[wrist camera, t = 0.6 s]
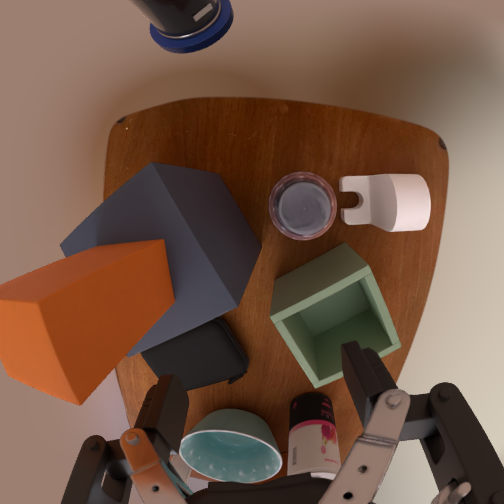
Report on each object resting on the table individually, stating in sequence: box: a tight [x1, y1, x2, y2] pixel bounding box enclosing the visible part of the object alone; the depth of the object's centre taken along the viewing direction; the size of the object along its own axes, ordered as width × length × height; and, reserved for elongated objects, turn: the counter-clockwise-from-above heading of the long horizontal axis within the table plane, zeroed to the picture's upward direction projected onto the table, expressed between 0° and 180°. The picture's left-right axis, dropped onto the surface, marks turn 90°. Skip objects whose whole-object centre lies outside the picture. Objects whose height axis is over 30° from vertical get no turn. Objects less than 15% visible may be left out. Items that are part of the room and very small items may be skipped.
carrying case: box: [141, 316, 249, 391], centre depth 36 cm, size 11×3×15 cm
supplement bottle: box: [268, 171, 337, 240], centre depth 26 cm, size 6×6×11 cm
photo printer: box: [171, 454, 192, 485], centre depth 38 cm, size 10×4×12 cm, turn 162°
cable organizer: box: [339, 174, 431, 232], centre depth 25 cm, size 5×10×10 cm, turn 95°
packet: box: [0, 239, 175, 406], centre depth 12 cm, size 4×5×10 cm
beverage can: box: [287, 393, 341, 480], centre depth 30 cm, size 6×6×15 cm
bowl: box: [179, 409, 282, 483], centre depth 36 cm, size 16×16×8 cm
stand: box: [60, 162, 262, 357], centre depth 25 cm, size 10×10×17 cm
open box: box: [270, 242, 401, 388], centre depth 28 cm, size 10×10×10 cm
